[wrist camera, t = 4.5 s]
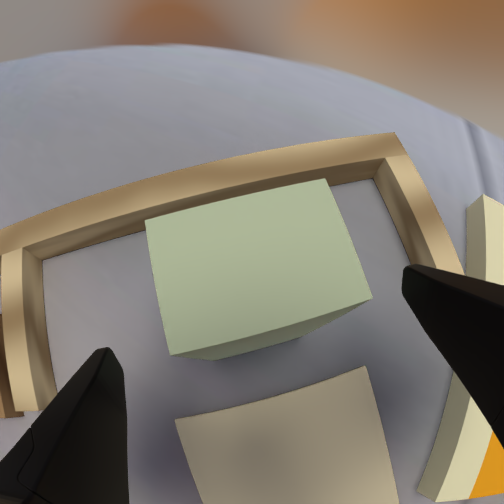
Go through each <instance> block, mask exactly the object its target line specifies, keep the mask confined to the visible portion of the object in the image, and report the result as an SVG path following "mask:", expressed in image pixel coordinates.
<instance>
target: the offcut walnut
mask: <svg viewBox="0 0 504 504" xmlns="http://www.w3.org/2000/svg"><path fill="white" fill-rule="evenodd" d="M21 416H24V413H23V411H15V406H14V401H13V397H12V392H11V386H10V380H9V374H8V368H7V361H6V353H5V345H4V334H3V322H2V314H0V418H12V417H21Z"/></svg>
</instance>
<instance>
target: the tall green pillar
mask: <svg viewBox="0 0 504 504" xmlns="http://www.w3.org/2000/svg"><path fill="white" fill-rule="evenodd" d="M145 226H146V233H147V240H148V246H149V253H150V259H151V265H152V270H153V276H154V282H155V287H156V292H157V298H158V303H159V308H160V312H161V317H162V322H163V327H164V331H165V336H166V340H167V344H168V349H169V353H170V355H171V356H178V357H186V358H194V359H202V360H211V361H215V360H219V359H223V358H227V357H231V356H235V355H239V354H243V353H247V352H251V351H254V350H258V349H262V348H265V347H269V346H272V345H276V344H279V343H283V342H286V341H289V340H293V339H296V338H299V337H302V336H304V335H306V334H308V333H310V332H312V331H314V330H316V329H318V328H320V327H321V326H323V325H325V324H327V323H329V322H331V321H333V320H335V319H336V318H338V317H340V316H342V315H344V314H346V313H347V312H349V311H351V310H353V309H355V308H356V307H358V306H360V305H362V304H363V303H365V302H367V301H369V300H370V299H372V298H373V297H372V294H371V292H370V289H369V286H368V283H367V280H366V278H365V275H364V272H363V269H362V267H361V264H360V261H359V259H358V256H357V253H356V251H355V248H354V246H353V243H352V241H351V238H350V235H349V233H348V230H347V228H346V226H345V223H344V221H343V218H342V216H341V213H340V211H339V209H338V206H337V204H336V202H335V199H334V197H333V195H332V192H331V190H330V188H329V186H328V183H327V181H326V179H325V178H324V179H319V180H313V181H308V182H303V183H298V184H294V185H289V186H284V187H279V188H275V189H270V190H265V191H261V192H256V193H252V194H247V195H243V196H239V197H234V198H230V199H226V200H222V201H218V202H213V203H209V204H205V205H201V206H197V207H193V208H189V209H185V210H181V211H178V212H174V213H170V214H166V215H162V216H159V217H155V218H151V219H148V220H145Z"/></svg>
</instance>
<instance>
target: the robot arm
mask: <svg viewBox="0 0 504 504" xmlns="http://www.w3.org/2000/svg"><path fill="white" fill-rule="evenodd" d="M402 294H403V297H404V298H405V300H406V301H407V303H408V305H409V306H410V308H411V309H412V311H413V313H414V314H415V316H416V318H417V319H418V321H419V322H420V324H421V326H422V327H423V329H424V330H425V332H426V333H427V335H428V336H429V338H430V339H431V340H432V342H433V343H434V344H435V346H436V347H437V348H438V350H439V351H440V352H441V354H442V355H443V357H444V358H445V359H446V361H447V362H448V364H449V365H450V366H451V368H452V369H453V371H454V372H455V373H456V375H457V376H458V378H459V379H460V381H461V382H462V384H463V385H464V387H465V388H466V390H467V391H468V392H469V394H470V395H471V397H472V398H473V400H474V402H475V403H476V405H477V406H478V408H479V409H480V411H481V412H482V414H483V415H484V417H485V419H486V420H487V422H488V423H489V425H490V426H491V429H492V430H493V432H494V434H495V435H496V437H497V439H498V440H499V442H500V444H501V445H502V447H503V449H504V285H500V284H496V283H492V282H489V281H485V280H481V279H477V278H473V277H469V276H465V275H461V274H457V273H453V272H449V271H445V270H441V269H437V268H433V267H428V266H424V265H420V264H412V265H409V266H406V267H405V268H404V270H403V278H402ZM0 504H129V489H128V464H127V410H126V398H125V385H124V373H123V369H122V367H121V365H120V363H119V362H118V360H117V358H116V356H115V355H114V353H113V351H112V350H111V349H110V348H109V347H105V348H100V349H97V350H95V352H94V353H93V354H92V355H91V356H90V357H89V358H88V359H87V361H86V362H85V363H84V364H83V365H82V366H81V367H80V368H79V370H78V371H77V372H76V373H75V374H74V375H73V376H72V378H71V379H70V380H69V381H68V382H67V383H66V385H65V386H64V387H63V388H62V389H61V390H60V392H59V393H58V394H57V395H56V396H55V397H54V399H53V400H52V401H51V402H50V403H49V405H48V406H47V407H46V408H45V409H44V411H43V412H42V413H41V414H40V415H39V417H38V418H37V419H36V420H35V421H34V423H33V424H32V425H31V428H29V429H28V430H27V431H26V433H25V434H24V435H23V436H22V437H21V439H20V440H19V441H18V442H17V443H16V445H15V446H14V447H13V448H12V449H11V450H10V451H9V453H8V454H7V455H6V456H5V457H4V458H3V459H2V460H1V461H0Z"/></svg>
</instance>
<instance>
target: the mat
mask: <svg viewBox="0 0 504 504" xmlns="http://www.w3.org/2000/svg"><path fill="white" fill-rule="evenodd" d="M174 421H175V424H176V427H177V431H178V434H179V437H180V440H181V443H182V446H183V450H184V453H185V456H186V459H187V461H188V464H189V467H190V470H191V473H192V476H193V478H194V481H195V484H196V487H197V489H198V492H199V494H200V497H201V500H202V502H203V504H399V500H398V495H397V490H396V485H395V480H394V475H393V470H392V466H391V461H390V457H389V452H388V448H387V444H386V440H385V436H384V431H383V427H382V423H381V420H380V416H379V412H378V408H377V404H376V400H375V397H374V393H373V389H372V386H371V382H370V379H369V375H368V372H367V368H366V366H361V367H359V368H356V369H354V370H351V371H348V372H346V373H343V374H340V375H337V376H335V377H332V378H329V379H326V380H323V381H320V382H318V383H315V384H312V385H309V386H305V387H302V388H299V389H296V390H293V391H290V392H286V393H283V394H280V395H276V396H273V397H269V398H266V399H262V400H258V401H255V402H251V403H247V404H243V405H239V406H235V407H231V408H226V409H222V410H218V411H213V412H208V413H204V414H199V415H194V416H189V417H183V418H178V419H175V420H174Z"/></svg>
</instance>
